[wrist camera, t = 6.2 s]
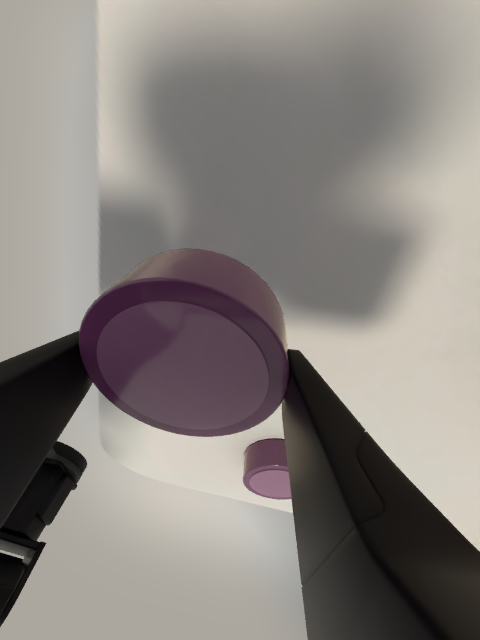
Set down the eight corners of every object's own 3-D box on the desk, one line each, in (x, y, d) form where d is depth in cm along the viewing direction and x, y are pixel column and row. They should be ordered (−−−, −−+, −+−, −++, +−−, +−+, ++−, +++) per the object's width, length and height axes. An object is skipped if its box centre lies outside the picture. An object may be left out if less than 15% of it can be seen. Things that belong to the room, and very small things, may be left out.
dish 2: (242, 469, 26) (240, 495, 24) (247, 434, 23) (245, 462, 21) (302, 477, 26) (305, 504, 24) (316, 443, 23) (321, 472, 21)
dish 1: (133, 379, 11) (104, 427, 9) (100, 238, 8) (41, 266, 6) (272, 395, 11) (273, 449, 9) (301, 258, 8) (314, 294, 6)
